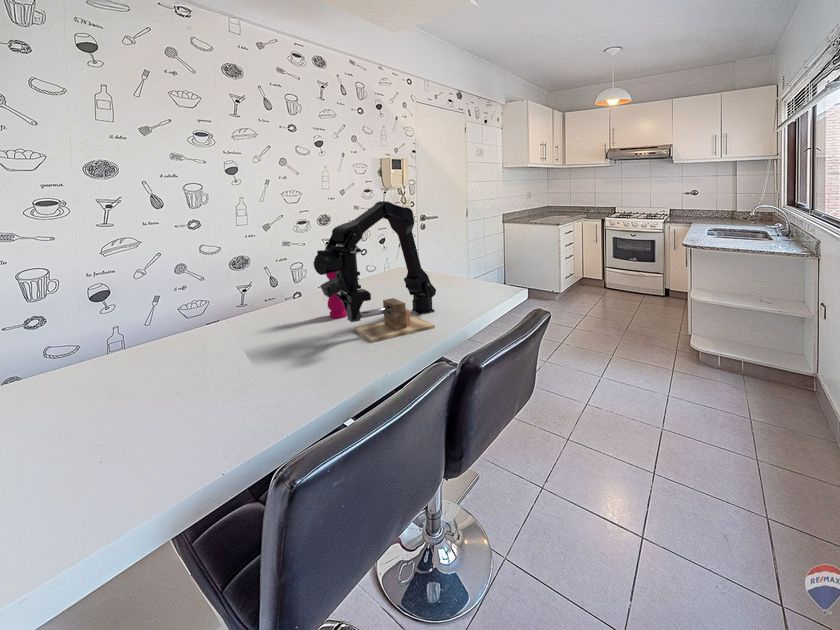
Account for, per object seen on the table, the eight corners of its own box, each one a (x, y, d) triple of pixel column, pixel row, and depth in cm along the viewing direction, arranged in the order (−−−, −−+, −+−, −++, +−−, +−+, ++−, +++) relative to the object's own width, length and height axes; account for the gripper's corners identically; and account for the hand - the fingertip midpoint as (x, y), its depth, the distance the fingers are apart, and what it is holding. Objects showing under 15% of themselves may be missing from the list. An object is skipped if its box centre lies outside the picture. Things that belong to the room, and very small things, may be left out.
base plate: (413, 317, 160) (413, 315, 159) (434, 327, 148) (434, 324, 148) (353, 330, 149) (353, 327, 148) (371, 342, 137) (371, 339, 137)
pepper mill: (344, 319, 161) (339, 264, 155) (325, 318, 163) (320, 264, 157) (351, 313, 168) (346, 260, 162) (333, 313, 169) (328, 260, 164)
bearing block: (395, 321, 153) (393, 298, 150) (406, 327, 146) (405, 303, 143) (384, 324, 151) (383, 300, 148) (395, 330, 144) (394, 305, 142)
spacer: (402, 321, 152) (401, 306, 151) (410, 325, 148) (409, 309, 146) (397, 322, 152) (396, 307, 150) (405, 326, 147) (404, 311, 145)
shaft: (394, 310, 149) (393, 295, 147) (398, 312, 146) (397, 297, 144) (347, 319, 141) (346, 303, 139) (351, 322, 138) (350, 306, 136)
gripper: (312, 267, 139) (317, 315, 143) (333, 277, 123) (338, 331, 128) (345, 263, 144) (349, 309, 149) (370, 272, 129) (373, 323, 133)
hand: (351, 318), depth 139 cm, fingers closed on shaft, 3 cm apart
